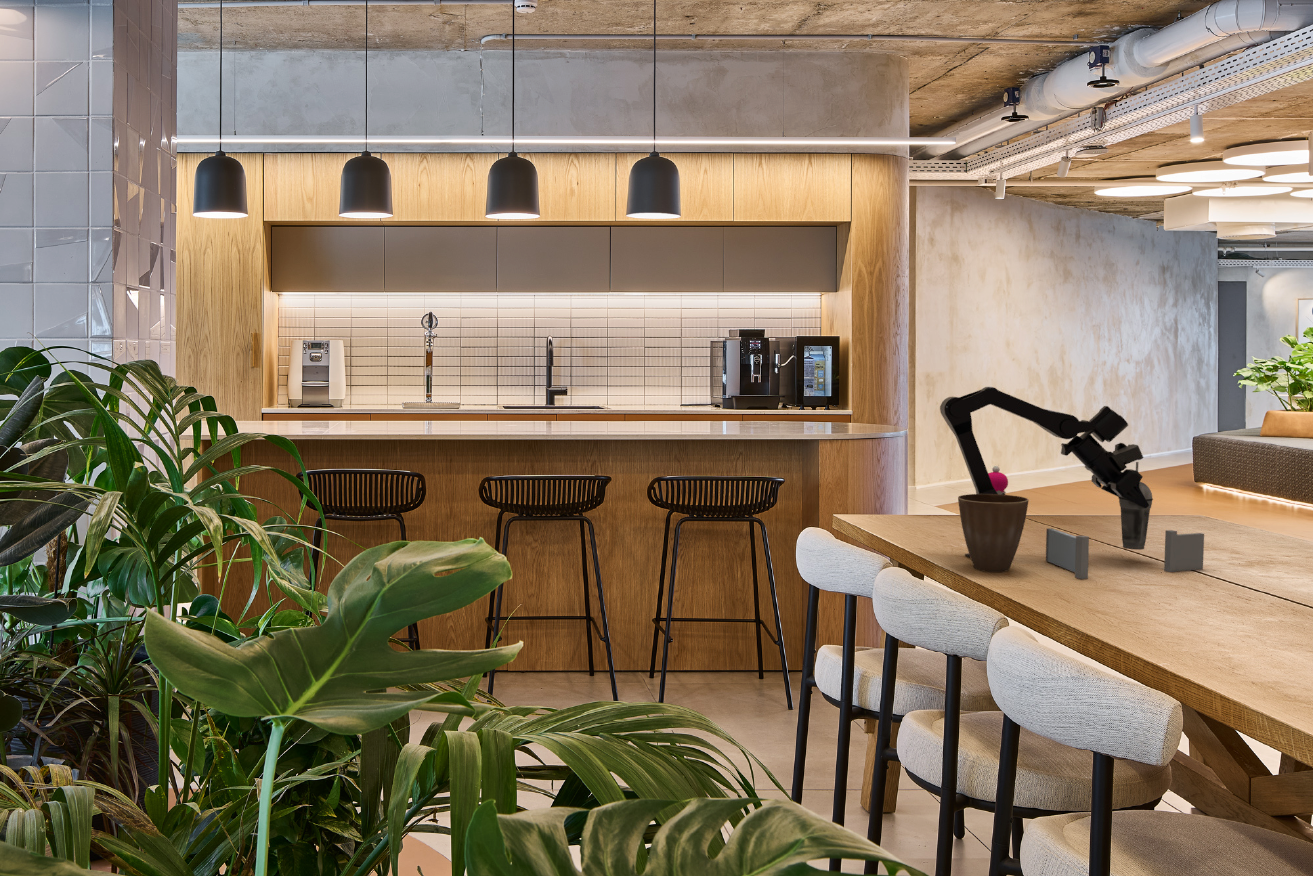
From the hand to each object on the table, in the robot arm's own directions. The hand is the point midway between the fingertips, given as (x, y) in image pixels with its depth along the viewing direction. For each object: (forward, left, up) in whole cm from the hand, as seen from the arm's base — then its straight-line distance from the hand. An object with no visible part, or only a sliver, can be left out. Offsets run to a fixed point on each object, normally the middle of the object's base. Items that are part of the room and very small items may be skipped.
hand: (1141, 504), depth 235 cm
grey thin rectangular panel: (-23, -2, -13) cm, 26 cm away
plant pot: (-39, +3, -13) cm, 41 cm away
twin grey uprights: (-11, -11, -13) cm, 21 cm away
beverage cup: (-1, +1, -10) cm, 10 cm away
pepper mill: (-17, +31, -13) cm, 38 cm away
